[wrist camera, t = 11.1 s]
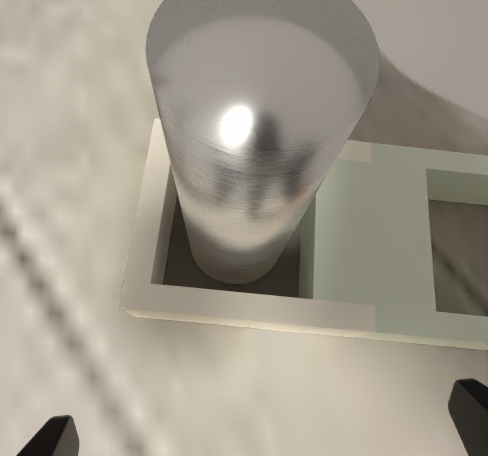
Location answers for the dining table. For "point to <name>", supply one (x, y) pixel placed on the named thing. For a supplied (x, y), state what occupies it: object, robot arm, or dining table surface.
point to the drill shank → (255, 116)
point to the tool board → (328, 251)
